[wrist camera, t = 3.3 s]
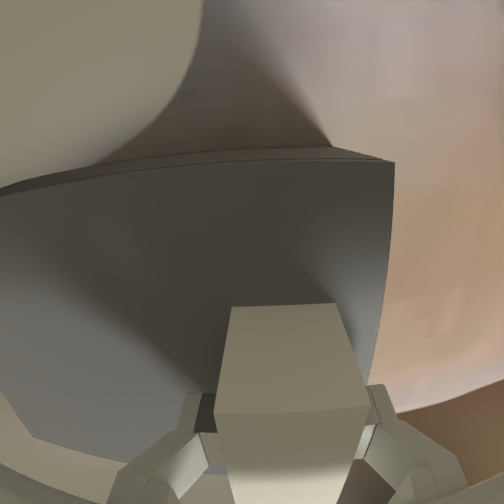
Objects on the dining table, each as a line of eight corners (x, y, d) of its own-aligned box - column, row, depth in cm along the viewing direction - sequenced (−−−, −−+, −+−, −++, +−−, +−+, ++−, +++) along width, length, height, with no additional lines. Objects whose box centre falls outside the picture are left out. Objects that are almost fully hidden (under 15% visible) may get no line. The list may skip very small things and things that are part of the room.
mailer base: (27, 179, 16) (-54, 209, 9) (333, 146, 15) (382, 159, 8) (79, 363, 21) (38, 427, 14) (323, 370, 20) (340, 456, 13)
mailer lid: (-59, 211, 9) (-128, 246, 5) (386, 160, 8) (487, 194, 4) (36, 430, 14) (7, 481, 10) (340, 460, 13) (352, 536, 9)
